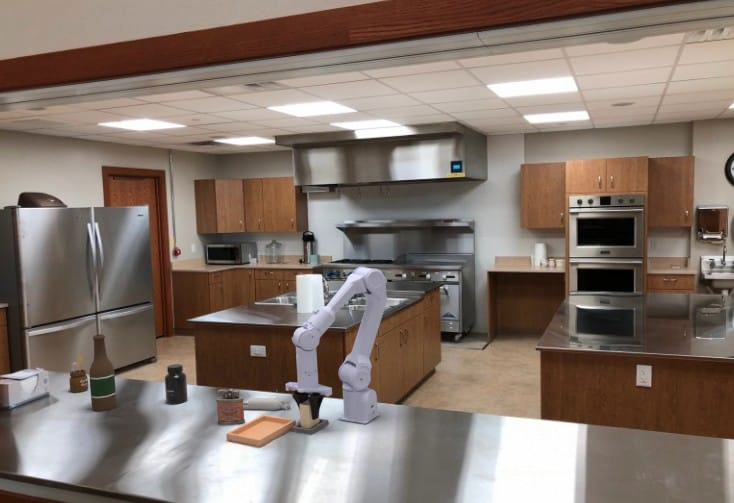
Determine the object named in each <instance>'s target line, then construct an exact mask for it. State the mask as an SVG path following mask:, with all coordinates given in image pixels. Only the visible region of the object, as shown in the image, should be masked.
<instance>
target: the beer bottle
mask: <svg viewBox="0 0 734 503" xmlns="http://www.w3.org/2000/svg"><path fill="white" fill-rule="evenodd" d="M105 339H106V336H105V334H102V333H99V334H95V335H93V336H92V340H93V361H92V362H91V365H90V369H89V372H88V373H89V376H88V377H89V378H88V380H89V388H90V389H89V390H90V398H91V402H90V403H91V409H92V411H93V412H105V411H106V412H107V411H110V410H113V409H115V408H116V407H117V391H116V388H117V387H116V378H115V369H114V368H115V367H114V365H113V364H112V362H111V361H110V359H109V358H108V355H107V349H106V343H105Z"/></svg>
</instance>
